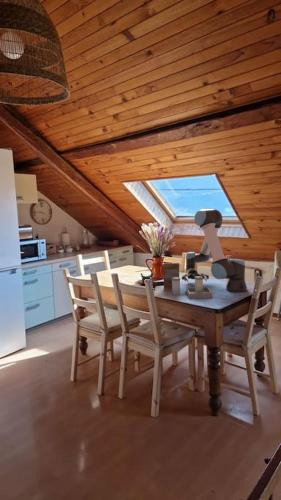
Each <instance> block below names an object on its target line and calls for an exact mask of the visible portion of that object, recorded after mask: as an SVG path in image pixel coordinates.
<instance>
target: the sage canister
mask: <svg viewBox="0 0 281 500" xmlns="http://www.w3.org/2000/svg"><path fill="white" fill-rule="evenodd" d="M194 287H195V293H203V287H204V279H203V277H201V276H196V277H195V279H194Z"/></svg>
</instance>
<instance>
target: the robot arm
mask: <svg viewBox="0 0 281 500" xmlns="http://www.w3.org/2000/svg"><path fill="white" fill-rule="evenodd" d="M193 220H194V223H195V225H196V226H198V227H199V228H200V230H201V231H203V234H204V240H203V243H202V245H201V248H200V250H199V253H196V252H195V251H188V252H186V254H185V273H184V274H183V275H181V280H183V281H184V282H187V283H189V279H190V280H195V277H196V276H201V277H203V281H205V282H208V280H209V279H210V276H209V275H208V274H205V273H202V272H201V273H198V271H197V269H196V264H198V263H207V262H209V261H210V260H211V257H212V262H211V266H210V273H211V275H212V276H213V278H215V279H217V280H224V279H225V280H226V279H228V280H227V283H226V285H225V286H226V287H225V288H226V289H225V290H226V291H228V292H233V293H244V292H247V291H248V285H247V282H246V279H245V278H246V276H245V275H246V274H245V273H246V272H245V271H246V262H245V260H244V259H238V258H228V257H226V256H225V254H224V251H223V249H222V246H221V242H220V240H219V236H218V231H219V229H220V228H221V227H222V224H223V215H222V212H221V211H220V210H218V209H215V208H211V209H203V208H202V209H200V210H199V209H198V210H197V211H196V212H195V215H194V219H193Z"/></svg>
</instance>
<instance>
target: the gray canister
mask: <svg viewBox="0 0 281 500" xmlns="http://www.w3.org/2000/svg"><path fill="white" fill-rule="evenodd" d="M171 292H172V293H171V294H172V296H180V295H181V278H180V277H179V278H178V277H174V278H172V291H171Z"/></svg>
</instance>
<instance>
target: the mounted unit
mask: <svg viewBox="0 0 281 500" xmlns="http://www.w3.org/2000/svg"><path fill="white" fill-rule="evenodd" d="M162 266H163V267H162V269H163V272H162V273H163V291H164V292H168V291H169V292H170V291H171V292H172V278H174V277H178V278H180V263H179V262H169V263H168V262H166V263H165V262H164V263H163V265H162Z"/></svg>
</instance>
